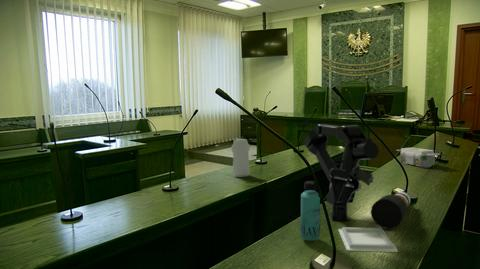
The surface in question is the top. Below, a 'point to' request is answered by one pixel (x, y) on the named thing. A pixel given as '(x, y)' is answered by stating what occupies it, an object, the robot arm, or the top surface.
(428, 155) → the electrical outlet
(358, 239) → the white square tray
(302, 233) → the beverage bottle
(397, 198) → the black cylinder
